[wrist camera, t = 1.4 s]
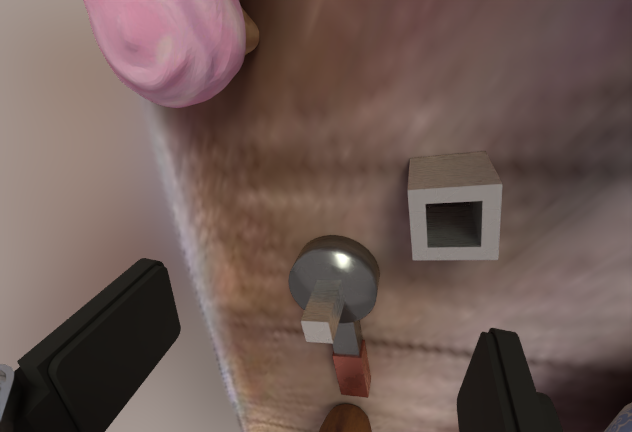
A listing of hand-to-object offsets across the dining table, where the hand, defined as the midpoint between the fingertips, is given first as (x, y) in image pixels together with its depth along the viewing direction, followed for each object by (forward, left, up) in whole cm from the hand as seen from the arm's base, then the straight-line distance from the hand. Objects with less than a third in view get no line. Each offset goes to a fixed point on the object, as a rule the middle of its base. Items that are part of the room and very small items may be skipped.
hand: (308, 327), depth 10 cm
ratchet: (+5, +18, -19) cm, 26 cm away
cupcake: (+10, -10, -19) cm, 24 cm away
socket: (-5, +4, -19) cm, 20 cm away
